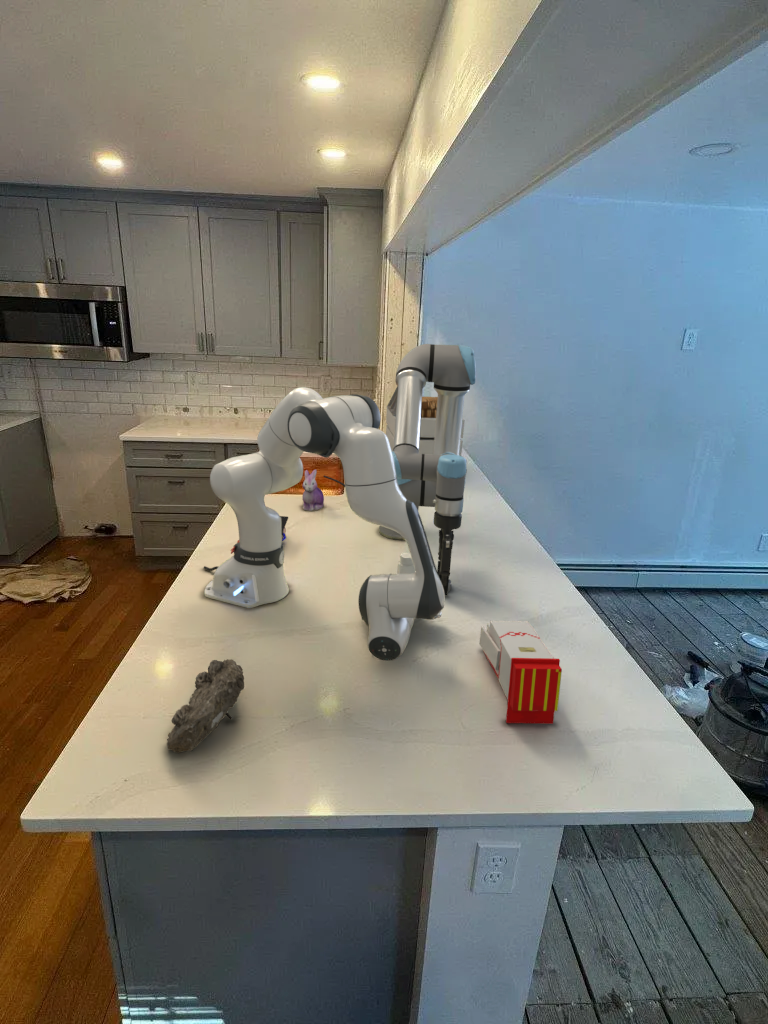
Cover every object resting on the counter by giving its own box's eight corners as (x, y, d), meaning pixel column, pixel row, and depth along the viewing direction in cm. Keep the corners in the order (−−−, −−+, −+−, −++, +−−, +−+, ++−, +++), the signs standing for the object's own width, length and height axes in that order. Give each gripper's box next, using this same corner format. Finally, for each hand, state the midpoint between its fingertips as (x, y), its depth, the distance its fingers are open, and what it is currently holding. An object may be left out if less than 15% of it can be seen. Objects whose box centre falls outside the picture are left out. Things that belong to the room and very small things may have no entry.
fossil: (192, 660, 117) (244, 628, 112) (224, 691, 120) (276, 661, 115) (142, 746, 98) (202, 712, 93) (182, 779, 101) (242, 748, 96)
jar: (415, 609, 150) (419, 554, 145) (407, 617, 146) (411, 560, 141) (400, 605, 152) (403, 550, 147) (392, 612, 148) (395, 556, 143)
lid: (429, 589, 161) (430, 582, 160) (437, 582, 165) (437, 575, 165) (446, 594, 159) (447, 586, 158) (453, 587, 163) (454, 579, 162)
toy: (526, 605, 135) (570, 665, 105) (521, 658, 137) (563, 730, 108) (475, 604, 134) (506, 664, 105) (472, 657, 137) (500, 729, 108)
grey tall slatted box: (382, 463, 289) (386, 382, 275) (445, 464, 293) (451, 384, 279) (390, 482, 257) (394, 392, 243) (460, 483, 261) (468, 394, 247)
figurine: (306, 512, 216) (305, 474, 210) (297, 504, 224) (296, 467, 219) (329, 509, 220) (329, 472, 215) (319, 501, 228) (319, 465, 223)
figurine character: (283, 556, 181) (289, 533, 194) (282, 535, 178) (288, 514, 191) (262, 555, 181) (269, 533, 194) (260, 534, 177) (268, 513, 191)
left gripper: (441, 607, 132) (446, 581, 145) (356, 596, 136) (368, 571, 148) (439, 630, 134) (444, 603, 147) (355, 619, 138) (367, 593, 150)
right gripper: (433, 500, 164) (427, 572, 171) (435, 523, 145) (429, 604, 152) (459, 501, 164) (452, 574, 171) (465, 525, 145) (457, 605, 152)
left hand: (405, 587), depth 148 cm, fingers closed on jar, 4 cm apart
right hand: (441, 588), depth 162 cm, fingers open, 7 cm apart
